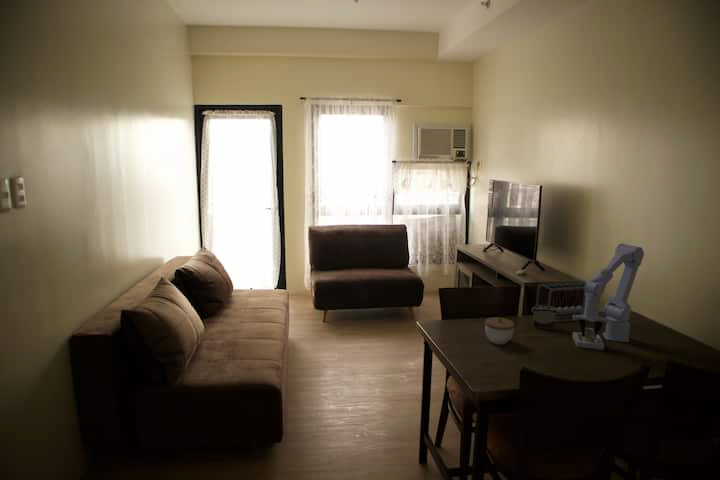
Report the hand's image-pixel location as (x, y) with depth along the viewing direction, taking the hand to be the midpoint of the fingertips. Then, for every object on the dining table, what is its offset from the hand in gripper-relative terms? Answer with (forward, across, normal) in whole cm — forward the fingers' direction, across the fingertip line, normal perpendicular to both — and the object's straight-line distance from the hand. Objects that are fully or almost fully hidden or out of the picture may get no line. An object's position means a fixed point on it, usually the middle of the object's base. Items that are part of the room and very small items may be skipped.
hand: (588, 336), depth 215 cm
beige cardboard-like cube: (+2, 0, 0) cm, 2 cm away
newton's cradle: (+4, -5, +33) cm, 34 cm away
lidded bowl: (+4, -39, -10) cm, 40 cm away
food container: (+4, -18, +17) cm, 25 cm away
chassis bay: (+3, 0, 0) cm, 3 cm away
